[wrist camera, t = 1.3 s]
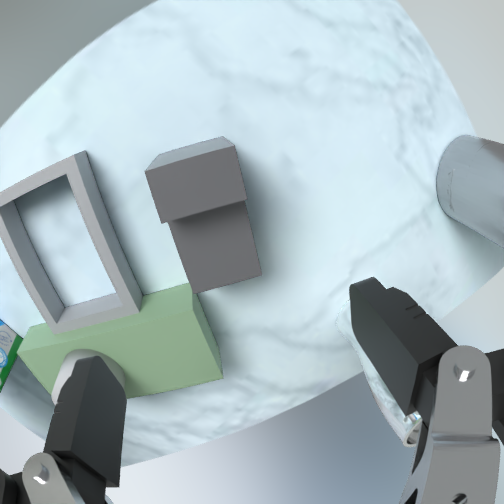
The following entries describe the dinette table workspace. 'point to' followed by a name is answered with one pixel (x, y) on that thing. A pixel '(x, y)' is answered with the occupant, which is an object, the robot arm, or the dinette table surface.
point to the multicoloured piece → (107, 306)
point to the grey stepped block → (206, 212)
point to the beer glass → (380, 386)
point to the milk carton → (7, 351)
